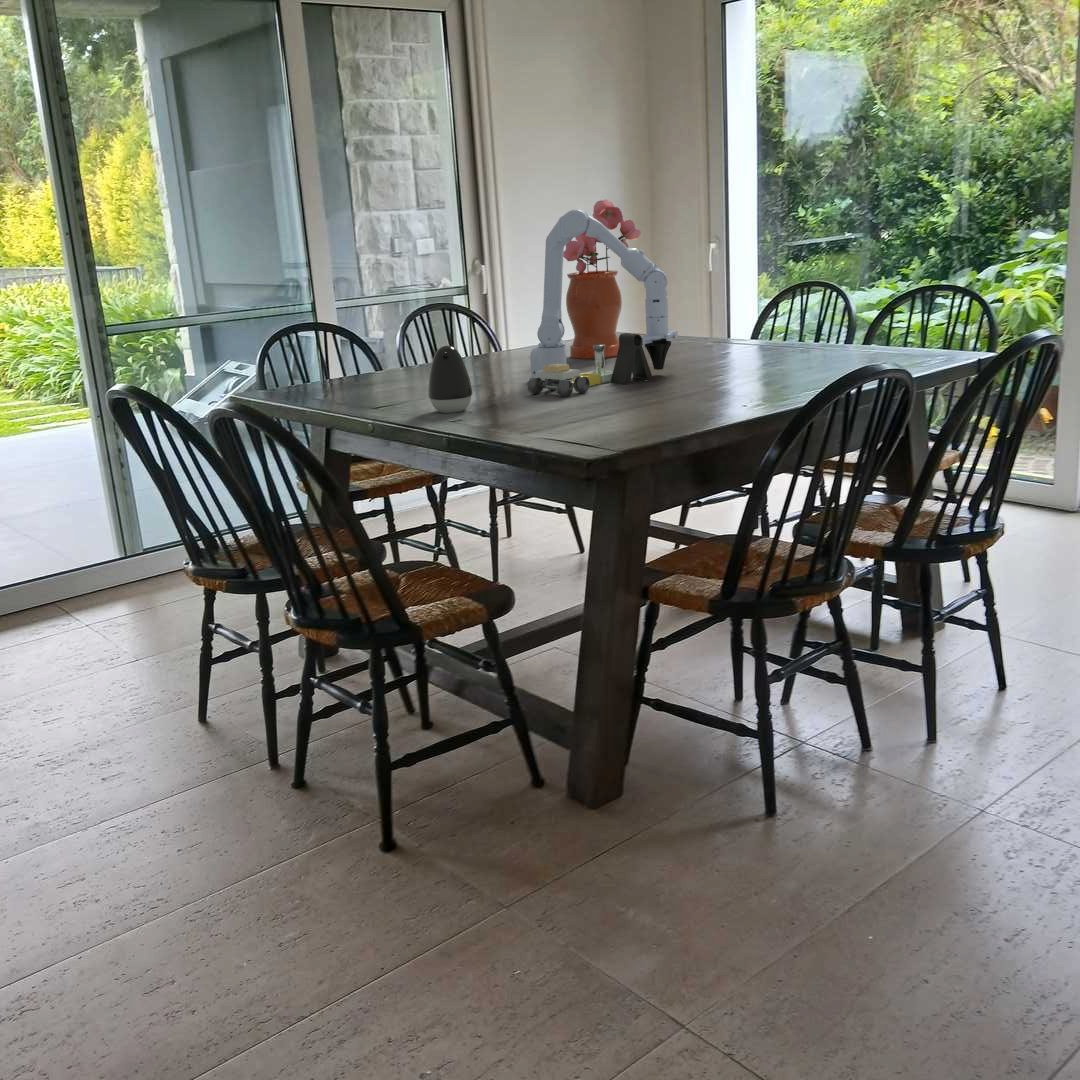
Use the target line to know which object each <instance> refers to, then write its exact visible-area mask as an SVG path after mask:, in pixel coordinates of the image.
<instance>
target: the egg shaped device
mask: <svg viewBox="0 0 1080 1080" xmlns="http://www.w3.org/2000/svg"><path fill="white" fill-rule="evenodd" d="M472 386H473V385H472V384H471V380H470V375H469V373H468V369H467V366H466V364H465V362H464V359H463V357H462V355H461V354H460V352H459V350H458V349H456V348H455V347H454V346H451V345H443V346H440V347H439V348H438V349H437V350H436V351H435V354H434V355H433V359H432V361H431V366H430V370H429V378H428V389H427V390H428V391H427V392H428V394H427V395H428V398H429V399H430V403H431V405H432V406H433V407H434V409H435V410H436V411H438V412H440V413H442V414H454V413H455V414H456V413H460V412H463V411H465V410H466V409H467V408H468V407H469V406H470V403H471V400H472V396H473V388H472Z"/></svg>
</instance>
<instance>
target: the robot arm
mask: <svg viewBox="0 0 1080 1080" xmlns="http://www.w3.org/2000/svg"><path fill="white" fill-rule="evenodd" d="M586 231H587V232H586ZM584 232H586V235H585V236H588V237H593V238H597V239H598V240H600V241H601V242H602V243H601V244H603V245H604V246H605V247H606V246H607V248H609V249H610V250H611V252H613V254H615V255H616V256H618V257H619V258H620V266H621V267H622V268H624V270H625V271H627V272H628V273H629V274H630V275H631V276H632V277H634V278H635V280H637V281H638V282H643V285H644V289H646V290H645V295H646V296H645V327H646V330H645V332H646V334H643V335H640V336H641V337H642V346H644V347H645V349H646V351H647V352H648V355H649V356H650V359H651V362H652V363H651V364H652V366H653V370H658V371H659V370H663V369H664V367H665V361H666V357H667V354H668V351H669V350H670V347H671V346H672V341H671V339H672V340H673V339H678V338H679V337H678V334H679V333H678V332H679V331H678V330H669V309H668V308H669V305H668V304H669V303H668V297H667V296H668V291H667V286H668V277H667V275H666V273H665V272H664V271H663V269H662V268H659V267H658V266H659V264H657V263H656V262H655V263H654V262H652V261H651V260H650V259H649V258H648V257H647V256H645V251H644V250H643V249H638V248H636V247H634V248H633V247H631V248H629V247H628V248H627V247H626V246H625V245H624V244H623V243H622V242H621V241H620V240H619V239H618V238H619V237H617V236H616V235H615V234H614V233H613V232H611V230H610V229H609V230H608V229H607V228H606V227H605V226H604V225H603V224H602V223H600V222H599V221H598V220H596V219H595V218H593V216H592V215H589V214H588V213H587V212H586V211H585V210H582V209H579V208H578V209H576V208H575V209H571V210H569V211H567V212H566V213H564V214H563V215H561V216H560V217H559V218H558V220H557V221H556V223H555V225H554V226H553V228H552V229H551V230H550V232H549V233H548V235H547V236H546V237H545V238H546V239H545V251H544V252H545V253H544V254H545V256H544V257H545V258H544V281H543V282H544V283H543V301H542V302H543V303H542V304H543V305H542V307H543V308H542V313H541V323H540V325H539V327H538V329H537V332H536V333H537V338H538V339H537V340H539V343H538V344H537V345H535V346H534V347H533V348H532V349H531V351H530V355H529V356H530V357H529V358H530V360H529V361H530V374H531V375H530V376H531V377H529V380H530V379H531V378H533V377H534V378H536V371H540V370H543V366H544V365H549V364H554V363H555V364H568V363H567V349H566V347H567V346H566V342H564V340H563V339H562V338H563V337H564V335H565V332H566V330H565V326H564V323H563V320H562V315H563V314H562V293H563V291H562V290H563V271H564V268H563V267H564V257H563V251H565V250H564V249H565V248H564V247H566V244H567V243H568V242H570V241H573V239H574V238H575V237H576V236H578V235H581V234H583V233H584ZM609 249H608V250H609ZM540 379H541V380H542V381H543V382H545V378H540Z"/></svg>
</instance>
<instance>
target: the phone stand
mask: <svg viewBox="0 0 1080 1080" xmlns="http://www.w3.org/2000/svg"><path fill="white" fill-rule="evenodd" d="M641 336H642V335H640V334H638V333H637V334H635V333H629V332H628V333H627V332H624V333H620V334H619V335H618V340H619V349H618V353H617V356H615V357H616V358H615V362H614V367H613V370H612V371H613V374H612V378H611V382H610V383H614V382H615V383H614V384H620V383H622V384H621V385H627V384H626V383H631V384H634V383H633V382H637V383H641V382H640V381H643V382H646V381H645V380H649V381H652V380H651V379H653V380H654V378H653V374H652V372H651V368H650V366H649V363H648V362H649V361H648V359H647V357H646V354H645V353H646V352H645V351H644V347H643V345H642V337H641Z"/></svg>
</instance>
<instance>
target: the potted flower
mask: <svg viewBox="0 0 1080 1080" xmlns="http://www.w3.org/2000/svg"><path fill="white" fill-rule="evenodd" d="M592 217H593V218H595V219H596V220H598V221H599V222H600V223H602V224H603V225H604V226H605V227H606V228H607V229H608V230H609V231H612V230H616V229H617V227H618V225H619V224H620V227H619V232H620V234H621V235H620V236H618V237H617V238H618V239H619V240H620V241H621V242H622V243H623V244H624V245H625V246H626V247H627V248H629V245H628V243H627V240H629V241H630V240H631V241H633V240H638V239H639V237H640V235H641V230H640V229H637V228H636V225H635V222H634V221H633V220H631V219H629V220H624V218H623V217H624V216H623V213H622V210H621V208H620V207H618V206H615V205H614V204H613V201H611V200H608V199H603V200H602V199H601V200H597V201H596V202H595V204H594V205H593V214H592ZM586 232H587V231H586ZM586 232H584V233H583V234H581V235H578V236H576V237H574V238H575V240H571V241H570V242H568V243H567V244H566V245H565V250H564V251H563V259H565V260H566V261H567V262H574V261H576V262H577V263H576V266H575V269H576V272H569V273H567V275H566V276H567V278H568V279H569V284H568V287H567V291H566V296H565V299H566V300H565V305H566V311H567V316H568V319H569V320H570V321H569V322H570V324H571V327H572V330H573V335H574V337H573V340H572V344H571V345H570V346H569V352H570V353H569V354H570V358H572V359H579V360H581V359H582V360H593V359H594V360H595V349H593V345H605V349H604V359H607V358H613V357H617V353H618V349H619V337H618V335H617V329H618V323H619V319H620V316H621V313H622V303H623V302H622V299H623V298H622V294H621V289H620V287H619V285H618V283H617V280H616V277H617V275H618V273H619V271H618V270H609V263H608V262H609V261H608V258H611V256H608V250H609V248H608V247H607V246H606V245H605V257H604V256H603V257H600V258H599V257H598V256H599V253H598V252H597V243H599V244H600V243H601V244H603V243H602V242H601V241H600V240H598V239H597V238H593V237H588V236H585V235H586ZM583 260H584V261H585V262H584V261H583ZM603 260H605V261H606V270H598V261H603ZM589 266H593V267H595V268H596V269H595V270H589ZM586 269H587V271H586Z"/></svg>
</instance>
